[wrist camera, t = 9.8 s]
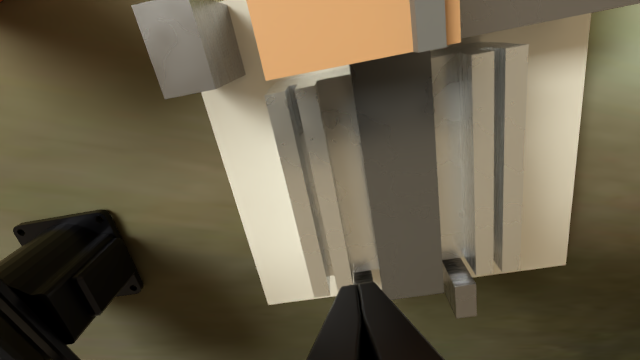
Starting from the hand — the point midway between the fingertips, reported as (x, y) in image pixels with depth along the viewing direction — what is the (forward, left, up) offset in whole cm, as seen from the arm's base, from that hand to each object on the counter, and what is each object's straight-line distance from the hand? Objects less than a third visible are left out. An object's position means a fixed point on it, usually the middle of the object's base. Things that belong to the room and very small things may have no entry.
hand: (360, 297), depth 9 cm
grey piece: (+3, 0, -11) cm, 11 cm away
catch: (+1, +7, -6) cm, 9 cm away
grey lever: (+2, +1, -8) cm, 8 cm away
